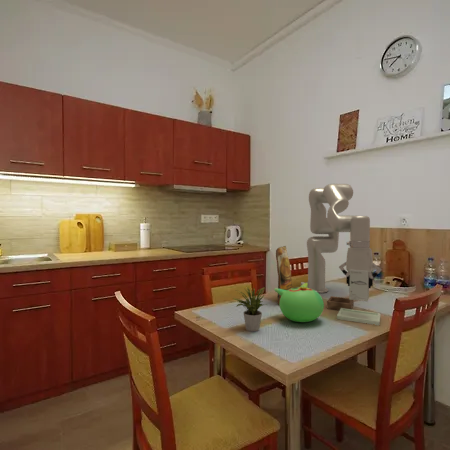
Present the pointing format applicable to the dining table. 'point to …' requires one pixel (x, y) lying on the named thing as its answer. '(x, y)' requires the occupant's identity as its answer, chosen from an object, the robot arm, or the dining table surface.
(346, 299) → the caddy
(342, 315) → the tray
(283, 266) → the pancake mix bag
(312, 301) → the round teapot
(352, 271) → the supplement box
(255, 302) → the house plant
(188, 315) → the dining table surface
